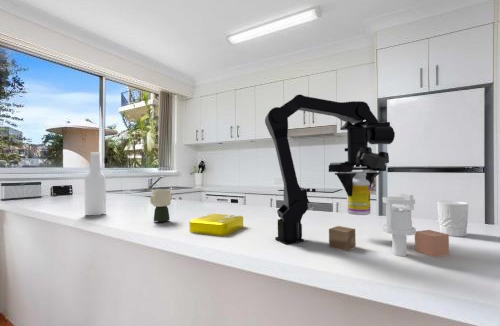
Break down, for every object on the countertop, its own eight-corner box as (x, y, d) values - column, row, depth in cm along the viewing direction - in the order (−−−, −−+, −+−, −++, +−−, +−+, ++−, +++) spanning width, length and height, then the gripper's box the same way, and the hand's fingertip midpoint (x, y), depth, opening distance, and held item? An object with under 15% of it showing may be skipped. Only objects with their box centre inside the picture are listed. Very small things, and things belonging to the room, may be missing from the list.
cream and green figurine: (165, 218, 114) (165, 188, 115) (177, 220, 111) (177, 189, 111) (144, 223, 105) (144, 191, 105) (157, 225, 101) (157, 191, 102)
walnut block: (346, 251, 68) (346, 232, 68) (329, 247, 72) (328, 228, 72) (355, 247, 71) (355, 228, 71) (338, 243, 75) (338, 225, 75)
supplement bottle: (373, 216, 76) (372, 171, 76) (348, 215, 77) (348, 171, 78) (367, 212, 83) (366, 171, 83) (345, 211, 84) (344, 171, 84)
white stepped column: (403, 260, 61) (401, 195, 61) (377, 251, 67) (376, 193, 67) (423, 256, 63) (421, 194, 64) (396, 248, 70) (395, 191, 70)
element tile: (211, 224, 104) (210, 212, 104) (245, 227, 98) (245, 214, 98) (187, 233, 90) (186, 219, 90) (225, 237, 84) (224, 222, 84)
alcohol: (109, 213, 128) (109, 152, 129) (91, 216, 121) (90, 151, 121) (99, 212, 133) (99, 153, 133) (81, 215, 125) (80, 152, 126)
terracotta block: (433, 257, 63) (433, 236, 63) (415, 250, 68) (414, 231, 68) (449, 254, 64) (448, 234, 64) (429, 248, 69) (429, 229, 69)
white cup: (464, 232, 85) (463, 201, 85) (472, 238, 78) (472, 204, 78) (435, 230, 88) (434, 200, 88) (440, 235, 81) (439, 203, 81)
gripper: (356, 141, 69) (357, 200, 69) (402, 143, 77) (403, 196, 77) (326, 144, 79) (327, 196, 79) (369, 146, 87) (370, 193, 87)
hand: (358, 195), depth 80 cm, fingers closed on supplement bottle, 7 cm apart
